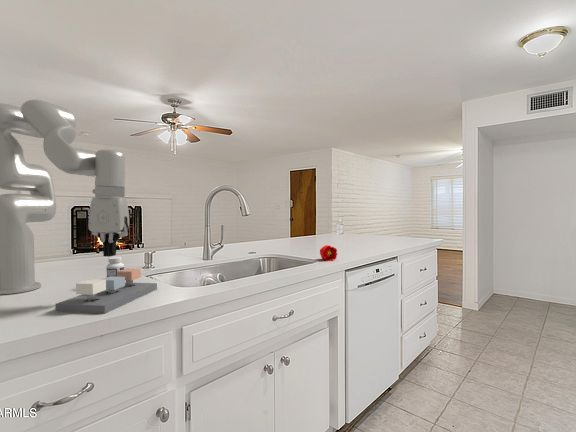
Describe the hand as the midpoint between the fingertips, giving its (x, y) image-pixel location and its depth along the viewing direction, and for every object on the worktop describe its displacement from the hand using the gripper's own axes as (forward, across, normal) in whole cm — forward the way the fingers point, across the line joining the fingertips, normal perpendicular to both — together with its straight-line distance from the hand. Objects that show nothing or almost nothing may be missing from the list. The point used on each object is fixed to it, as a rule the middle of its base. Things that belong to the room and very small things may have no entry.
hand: (109, 255), depth 91 cm
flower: (+12, +63, +77) cm, 101 cm away
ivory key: (+11, +1, -8) cm, 13 cm away
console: (+13, +1, 0) cm, 13 cm away
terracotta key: (+11, +1, +8) cm, 13 cm away
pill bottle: (+13, -9, +15) cm, 22 cm away
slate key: (+11, +1, 0) cm, 11 cm away
